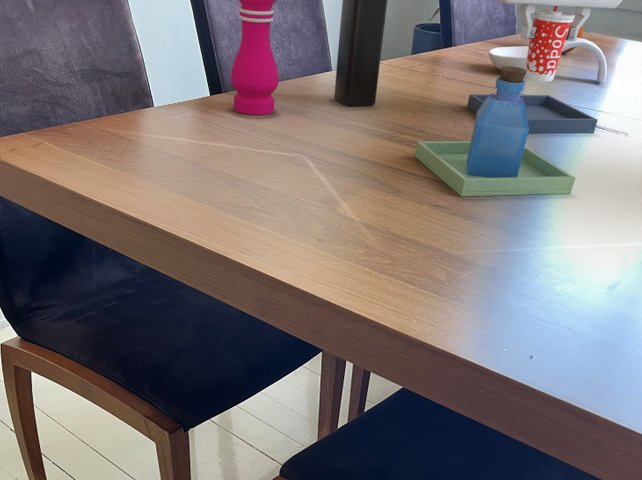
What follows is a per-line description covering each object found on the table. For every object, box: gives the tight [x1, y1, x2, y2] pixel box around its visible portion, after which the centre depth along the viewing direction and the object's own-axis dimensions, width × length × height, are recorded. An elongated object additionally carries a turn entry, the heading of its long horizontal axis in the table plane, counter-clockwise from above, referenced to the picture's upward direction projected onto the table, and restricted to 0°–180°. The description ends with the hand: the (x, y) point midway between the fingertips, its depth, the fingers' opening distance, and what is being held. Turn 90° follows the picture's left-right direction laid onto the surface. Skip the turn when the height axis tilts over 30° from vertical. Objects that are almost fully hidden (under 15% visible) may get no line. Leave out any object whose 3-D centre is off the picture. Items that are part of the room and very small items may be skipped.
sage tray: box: [414, 140, 576, 197], centre depth 95 cm, size 15×15×2 cm
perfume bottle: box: [467, 66, 529, 178], centre depth 92 cm, size 6×6×12 cm
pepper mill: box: [230, 0, 280, 116], centre depth 106 cm, size 7×7×20 cm
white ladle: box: [488, 37, 608, 84], centre depth 147 cm, size 24×12×7 cm, turn 79°
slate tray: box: [466, 93, 599, 134], centre depth 119 cm, size 15×15×2 cm
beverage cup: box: [524, 6, 576, 82], centre depth 112 cm, size 6×6×14 cm
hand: (548, 39), depth 113 cm, fingers closed on beverage cup, 6 cm apart
